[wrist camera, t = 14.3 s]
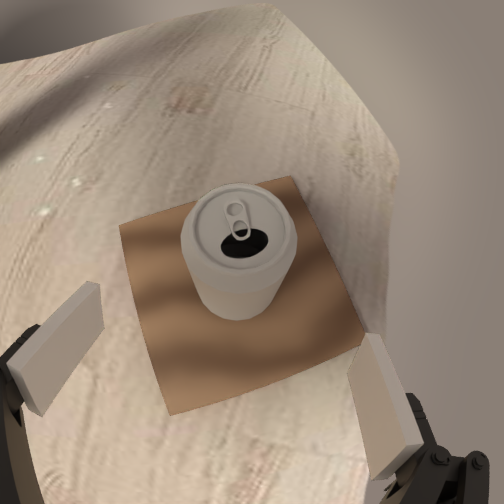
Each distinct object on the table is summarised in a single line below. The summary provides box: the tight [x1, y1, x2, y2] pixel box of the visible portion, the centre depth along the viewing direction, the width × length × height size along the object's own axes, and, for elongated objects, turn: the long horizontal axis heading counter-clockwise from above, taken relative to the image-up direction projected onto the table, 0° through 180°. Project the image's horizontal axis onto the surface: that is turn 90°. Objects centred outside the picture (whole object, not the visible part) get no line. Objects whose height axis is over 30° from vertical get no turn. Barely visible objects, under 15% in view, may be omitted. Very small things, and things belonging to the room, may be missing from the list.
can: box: [181, 183, 297, 321], centre depth 23 cm, size 8×8×12 cm
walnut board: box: [119, 176, 365, 416], centre depth 29 cm, size 20×20×1 cm
